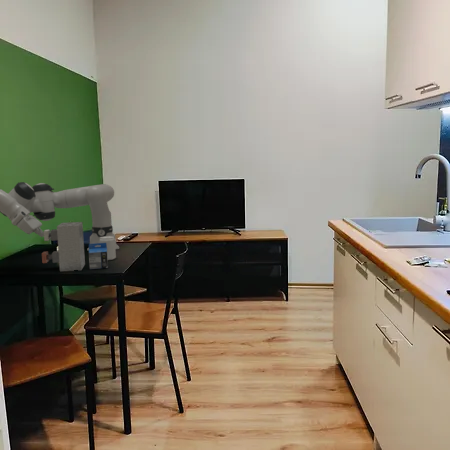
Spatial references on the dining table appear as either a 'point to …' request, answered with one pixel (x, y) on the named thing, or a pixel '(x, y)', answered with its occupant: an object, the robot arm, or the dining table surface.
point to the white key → (47, 235)
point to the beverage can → (109, 246)
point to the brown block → (46, 257)
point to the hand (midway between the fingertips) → (43, 235)
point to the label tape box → (98, 256)
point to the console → (69, 246)
